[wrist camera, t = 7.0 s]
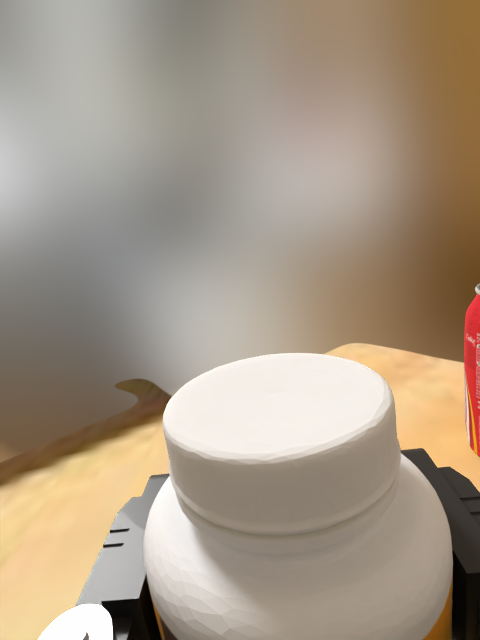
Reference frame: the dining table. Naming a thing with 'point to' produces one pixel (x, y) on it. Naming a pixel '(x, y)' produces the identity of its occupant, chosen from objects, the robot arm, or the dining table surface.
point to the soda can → (472, 372)
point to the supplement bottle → (294, 510)
